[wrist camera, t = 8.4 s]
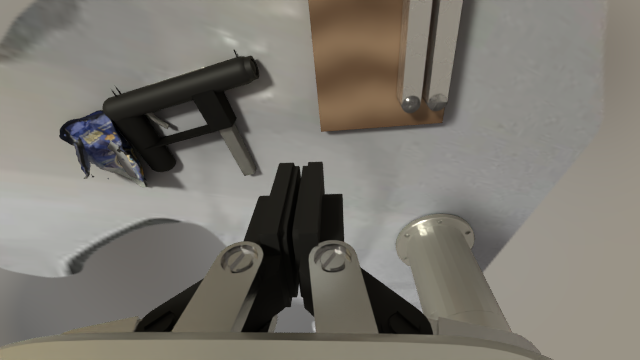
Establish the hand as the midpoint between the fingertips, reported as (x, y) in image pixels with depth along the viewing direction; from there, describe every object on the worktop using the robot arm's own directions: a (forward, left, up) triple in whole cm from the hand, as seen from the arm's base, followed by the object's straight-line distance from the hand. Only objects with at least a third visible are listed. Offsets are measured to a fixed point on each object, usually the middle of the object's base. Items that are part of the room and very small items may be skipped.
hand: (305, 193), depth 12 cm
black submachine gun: (-9, +16, -28) cm, 33 cm away
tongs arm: (+3, -10, -25) cm, 27 cm away
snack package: (-11, +30, -27) cm, 42 cm away
